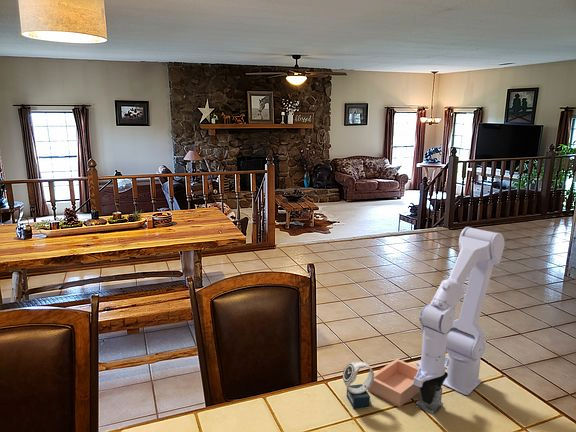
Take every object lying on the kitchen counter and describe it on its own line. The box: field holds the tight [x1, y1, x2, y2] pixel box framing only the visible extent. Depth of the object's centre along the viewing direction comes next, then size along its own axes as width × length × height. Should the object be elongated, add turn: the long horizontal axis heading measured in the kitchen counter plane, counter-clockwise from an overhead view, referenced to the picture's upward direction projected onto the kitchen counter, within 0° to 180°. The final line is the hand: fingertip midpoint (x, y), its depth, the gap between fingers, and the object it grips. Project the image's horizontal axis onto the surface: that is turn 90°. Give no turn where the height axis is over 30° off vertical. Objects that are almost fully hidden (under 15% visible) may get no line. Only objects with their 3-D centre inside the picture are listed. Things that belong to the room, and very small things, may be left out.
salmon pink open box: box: [367, 358, 419, 408], centre depth 123 cm, size 14×10×4 cm
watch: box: [342, 361, 375, 410], centre depth 116 cm, size 6×8×11 cm
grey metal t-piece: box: [415, 386, 444, 416], centre depth 115 cm, size 5×5×6 cm
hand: (429, 399), depth 115 cm, fingers closed on grey metal t-piece, 2 cm apart
